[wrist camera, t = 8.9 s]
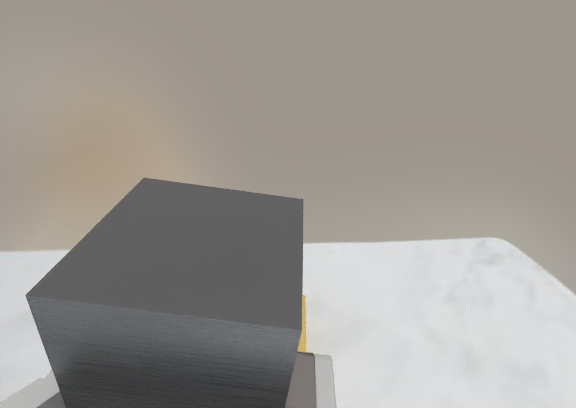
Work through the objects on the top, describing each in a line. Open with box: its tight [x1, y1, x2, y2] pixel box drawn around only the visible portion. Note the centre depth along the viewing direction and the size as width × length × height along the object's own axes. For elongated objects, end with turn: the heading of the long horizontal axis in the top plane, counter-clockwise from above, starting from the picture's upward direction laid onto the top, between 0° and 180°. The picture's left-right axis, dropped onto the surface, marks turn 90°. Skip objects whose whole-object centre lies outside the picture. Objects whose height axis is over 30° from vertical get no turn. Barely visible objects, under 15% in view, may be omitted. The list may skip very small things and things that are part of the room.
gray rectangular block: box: [26, 178, 303, 408], centre depth 9 cm, size 4×4×12 cm
